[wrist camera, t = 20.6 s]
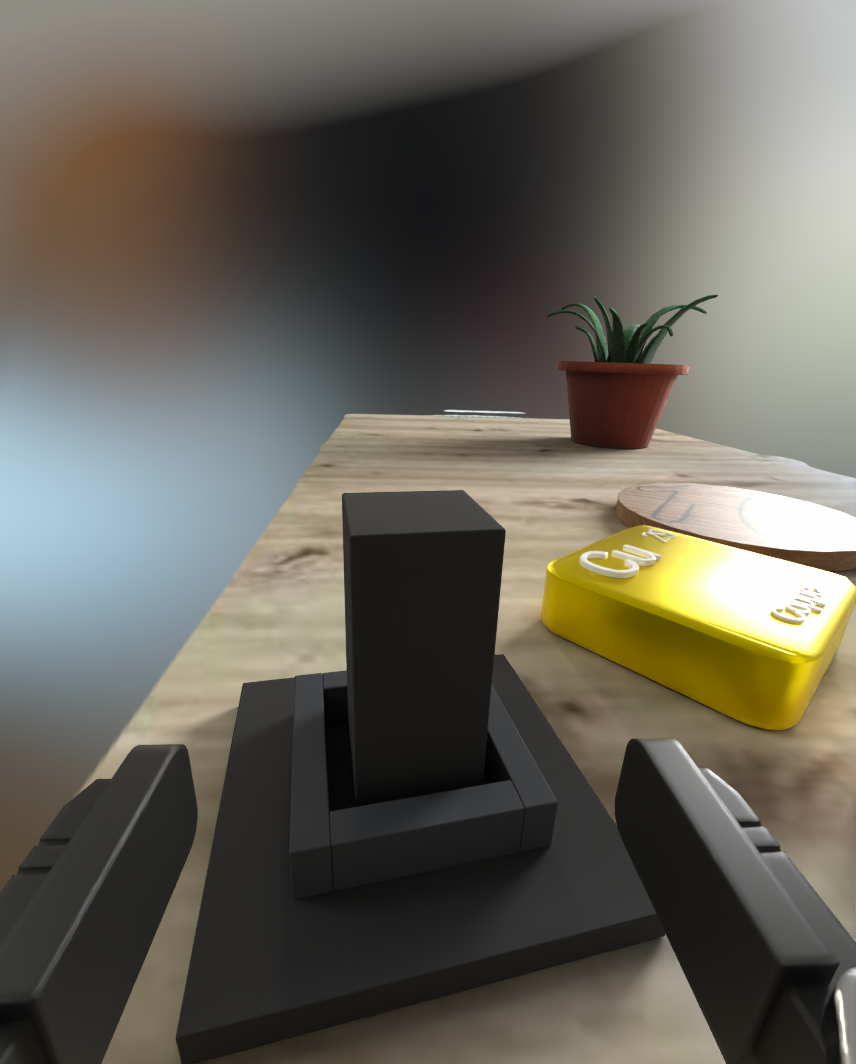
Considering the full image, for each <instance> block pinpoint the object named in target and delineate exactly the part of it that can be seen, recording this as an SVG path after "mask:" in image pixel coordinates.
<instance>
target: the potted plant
mask: <svg viewBox="0 0 856 1064" xmlns="http://www.w3.org/2000/svg"><path fill="white" fill-rule="evenodd" d="M717 296H718V295H710V296H706V297H703V298H700V299H698V300H695V301H694V302H692V303H690V304H689V305H671V306H668V307H665V308H663V309H661V310H660V311H658V312H656V313H655V314H653V315H652V316H651V317H650V318H649V319H648V320H647V322H646V323H645V324H643V325H641V326H640V325H632V326H629V327H628V328H627V329H626V330H624V331H623V327H622V324H621V321H620V318H619V316H618V314H617V313H616V311H615V310H614V309H612V308H609V310H610V312H611V314H612V317H613V332H612V328H611V324H610V321H609V317H608V315H607V312H606V310H605V308H604V307H603V305H602V304H601V302H600V301H599V300H598V299H597V298H596V297H594V299H595V301H596V303H597V304H598V306H599V308H600V310H601V312H602V315H603V317H604V321H605V325H606V330H607V340H608V350H607V344H606V339H605V336H604V333H603V330H602V327H601V324H600V321H599V320H598V318H597V317H596V315H595V314H594V312H593V311H592V310H590V309H589V308H588V307H586V306H585V305H582V304H580V303H571V304H568V305H566V306H564V307H563V308H561V310H559V311H555V312H552V313H550V314H548V315H547V316H548V317H549V316H552V315H555V314H559V313H572V314H574V315H577V316H579V317H580V318H582V319H583V320H585V321H586V322H587V323H588V324H589V326H590V327H591V328H592V330H593V331H594V332H595V336H596V343H597V348H596V345H595V343H594V341H593V338H592V336H591V335H590V333H589V332H588V331H587V330H585V329H584V328H582V327H578V326H576V327H575V328H577V329H579V330H581V331H583V332H585V333H586V334H587V336H588V338H589V340H590V343H591V346H592V350H593V355H594V359H595V362H577V361H576V362H575V361H558V370H566V380H567V392H568V402H569V403H568V404H569V415H570V427H571V439H572V441H574V442H576V443H580V444H584V445H589V446H596V447H605V448H618V449H639V448H645V447H648V445H649V443H650V440H651V438H652V435H653V433H654V431H655V428H656V426H657V423H658V421H659V419H660V416H661V413H662V412H663V409H664V407H665V404H666V402H667V399H668V397H669V394H670V392H671V390H672V388H673V385H674V383H675V380H676V378H677V376H678V375H688V370H689V365H664V364H663V365H662V364H650V363H651V361H652V359H653V357H654V355H655V352H656V350H657V348H658V346H659V345H660V343H661V342H662V340H663V339H664V337H665V335H666V333H667V332H669V334H670V336H673V333H672V329H671V328H670V327H671V326H672V325H673V324H674V323H675V322H676V321H677V320H678V319H679V318H680V317H681V316H682V315H683V314H684V313H685V312H686V311H687V310H689V309H694V310H698V311H700V312H702V313H705V314H706V311H704V310H703V309H701V308H699V307H696V306H695V305H697V304H698V303H701V302H703V301H706V300H708V299H711V298H715V297H717ZM570 306H580V307H582V308H583V309H584V310H585V311H586V312H587V313H588V315H589V317H590V318H591V320H592V322H593V325H592V324H591V322H590V321H589V320H588V319H587V318H586V317H584V316H583V315H581V314H580V313H578V312H574V311H572V310H564V309H565V308H567V307H570ZM677 308H681V309H680V311H678V312H677V313H676V314H675V315H674V316H673V317H672V318H671V319H669V320H668V321H667V322H666V323H665V324H664V325H662V326H658V327H656V328H654V329H652V327H653V326H654V324H655V323H656V321H657V320H658V319H659V317H660V316H661V315H663V314H665V313H667V312H668V311H671V310H674V309H677ZM636 328H638V329H637V330H636ZM660 328H662V329H661V330H660V331H659V333H658V334H657V335H656V336H655V337H654V338H653V339H652V340H651V341H650V343H649V344H648V345H647V346H646V347H645V349H644V351H643V352H642V350H643V348H644V345H645V343H646V341H647V339H648V337H649V336H650V335H651V334H652V333H653V332H654V331H656V330H658V329H660ZM635 330H636V332H635V333H634V331H635ZM633 334H634V335H633ZM641 353H642V354H641Z"/></svg>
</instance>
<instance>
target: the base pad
mask: <svg viewBox="0 0 856 1064" xmlns="http://www.w3.org/2000/svg"><path fill="white" fill-rule="evenodd" d="M662 936H665V931H664V929H663V927H662V924H661V922H660V920H659V918H658V916H657V914H656V912H655V909H654V907H653V905H652V903H651V901H650V899H649V897H648V894H647V892H646V890H645V888H644V886H643V884H642V882H641V879H640V877H639V875H638V873H637V871H636V869H635V867H634V864H633V862H632V860H631V858H630V856H629V854H628V852H627V849H626V847H625V845H624V843H623V841H622V838H621V836H620V833H619V830H618V827H617V826H616V824H615V823H614V821H613V820H612V818H611V817H610V815H609V814H608V812H607V811H606V809H605V808H604V806H603V805H602V803H601V802H600V800H599V799H598V797H597V796H596V794H595V792H594V791H593V789H592V788H591V786H590V785H589V783H588V782H587V780H586V779H585V777H584V776H583V774H582V773H581V771H580V770H579V768H578V767H577V765H576V764H575V762H574V761H573V759H572V758H571V756H570V755H569V753H568V751H567V750H566V748H565V747H564V745H563V744H562V742H561V741H560V739H559V738H558V736H557V735H556V733H555V732H554V730H553V729H552V727H551V726H550V724H549V723H548V721H547V720H546V718H545V717H544V715H543V714H542V712H541V710H540V709H539V707H538V706H537V704H536V703H535V701H534V700H533V698H532V697H531V695H530V694H529V692H528V691H527V689H526V688H525V686H524V685H523V683H522V682H521V680H520V679H519V677H518V676H517V674H516V673H515V671H514V669H513V668H512V666H511V665H510V663H509V662H508V660H507V659H506V657H505V656H504V655H503V654H502V655H494V665H493V676H492V687H491V698H490V709H489V720H488V731H487V742H486V753H485V764H484V775H483V785H480V786H474V787H468V788H463V789H457V790H451V791H445V792H440V793H434V794H428V795H422V796H417V797H411V798H405V799H399V800H394V801H388V802H382V803H376V804H370V805H365V806H359V807H355V806H354V794H353V782H352V770H351V758H350V746H349V731H348V695H347V671H339V672H330V673H323V674H322V673H318V674H309V675H300V676H295V677H294V678H285V679H276V680H267V681H258V682H249V683H243V686H242V691H241V696H240V702H239V707H238V712H237V717H236V723H235V728H234V733H233V739H232V744H231V749H230V754H229V760H228V765H227V770H226V775H225V781H224V786H223V791H222V797H221V802H220V807H219V812H218V818H217V823H216V828H215V834H214V839H213V844H212V849H211V855H210V860H209V865H208V870H207V876H206V881H205V886H204V892H203V897H202V902H201V907H200V913H199V918H198V923H197V928H196V934H195V939H194V944H193V950H192V955H191V960H190V965H189V971H188V976H187V981H186V987H185V992H184V997H183V1002H182V1008H181V1013H180V1018H179V1023H178V1029H177V1034H176V1042H177V1046H178V1050H179V1054H180V1058H181V1063H182V1064H194V1063H198V1062H201V1061H205V1060H209V1059H212V1058H216V1057H220V1056H223V1055H227V1054H231V1053H235V1052H238V1051H242V1050H246V1049H249V1048H253V1047H257V1046H260V1045H264V1044H268V1043H271V1042H275V1041H279V1040H282V1039H286V1038H290V1037H294V1036H297V1035H301V1034H305V1033H308V1032H312V1031H316V1030H319V1029H323V1028H327V1027H330V1026H334V1025H338V1024H341V1023H345V1022H349V1021H352V1020H356V1019H360V1018H364V1017H367V1016H371V1015H375V1014H378V1013H382V1012H386V1011H389V1010H393V1009H397V1008H400V1007H404V1006H408V1005H411V1004H415V1003H419V1002H422V1001H426V1000H430V999H434V998H437V997H441V996H445V995H448V994H452V993H456V992H459V991H463V990H467V989H470V988H474V987H478V986H481V985H485V984H489V983H492V982H496V981H500V980H504V979H507V978H511V977H515V976H518V975H522V974H526V973H529V972H533V971H537V970H540V969H544V968H548V967H551V966H555V965H559V964H562V963H566V962H570V961H574V960H577V959H581V958H585V957H588V956H592V955H596V954H599V953H603V952H607V951H610V950H614V949H618V948H621V947H625V946H629V945H632V944H636V943H640V942H644V941H647V940H651V939H655V938H658V937H662Z"/></svg>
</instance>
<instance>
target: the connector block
mask: <svg viewBox="0 0 856 1064" xmlns="http://www.w3.org/2000/svg"><path fill="white" fill-rule="evenodd" d="M342 515H343V551H344V587H345V623H346V659H347V695H348V731H349V746H350V758H351V770H352V782H353V794H354V806H355V807H359V806H365V805H370V804H376V803H382V802H388V801H394V800H399V799H405V798H411V797H417V796H422V795H428V794H434V793H440V792H445V791H451V790H457V789H463V788H468V787H474V786H480V785H483V775H484V764H485V753H486V742H487V731H488V720H489V709H490V698H491V687H492V676H493V665H494V654H495V642H496V631H497V620H498V609H499V598H500V587H501V576H502V565H503V554H504V543H505V532H506V531H505V529H504V528H503V527H502V526H501V525H500V524H499V523H498V522H497V521H496V520H494V519H493V518H492V517H491V516H490V515H489V514H488V513H487V512H486V511H485V510H484V509H483V508H482V507H481V506H479V505H478V504H477V503H476V502H475V501H474V500H473V499H472V498H471V497H470V496H469V495H468V494H467V493H466V492H464V491H463V490H455V491H413V492H371V493H343V494H342Z"/></svg>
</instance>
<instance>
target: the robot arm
mask: <svg viewBox="0 0 856 1064" xmlns="http://www.w3.org/2000/svg"><path fill="white" fill-rule="evenodd" d="M615 816H616V822H617V827H618V830H619V833H620V836H621V838H622V841H623V843H624V845H625V847H626V849H627V852H628V854H629V856H630V858H631V860H632V862H633V864H634V867H635V869H636V871H637V873H638V875H639V877H640V879H641V882H642V884H643V886H644V888H645V890H646V892H647V894H648V897H649V899H650V901H651V903H652V905H653V907H654V909H655V912H656V914H657V916H658V918H659V920H660V922H661V924H662V927H663V929H664V931H665V933H666V935H667V937H668V939H669V942H670V944H671V946H672V948H673V950H674V952H675V955H676V957H677V959H678V961H679V963H680V965H681V967H682V970H683V972H684V974H685V976H686V978H687V980H688V982H689V985H690V987H691V989H692V991H693V993H694V995H695V997H696V1000H697V1002H698V1004H699V1006H700V1008H701V1010H702V1012H703V1015H704V1017H705V1019H706V1021H707V1023H708V1025H709V1027H710V1030H711V1032H712V1034H713V1036H714V1038H715V1040H716V1042H717V1045H718V1047H719V1049H720V1051H721V1053H722V1055H723V1058H724V1060H725V1062H726V1064H856V942H855V941H854V940H853V939H852V937H851V936H850V935H849V933H848V932H847V931H846V930H845V928H844V927H843V926H842V925H841V923H840V922H839V921H838V919H837V918H836V917H835V916H834V914H833V913H832V912H831V910H830V909H829V908H828V907H827V905H826V904H825V903H824V902H823V900H822V899H821V898H820V896H819V895H818V894H817V893H816V891H815V890H814V889H813V887H812V886H811V885H810V884H809V882H808V881H807V880H806V879H805V877H804V876H803V875H802V873H801V872H800V871H799V870H798V868H797V867H796V866H795V864H794V863H793V862H792V861H791V859H790V858H789V857H788V856H787V854H786V853H785V852H781V850H780V845H779V844H778V843H777V841H776V840H775V839H774V838H773V836H772V835H771V834H770V833H769V831H768V830H767V829H766V827H762V826H761V823H760V820H759V818H758V817H757V816H756V815H755V813H754V812H753V811H752V810H751V808H750V807H749V806H748V804H747V803H746V802H745V801H744V799H743V798H742V797H741V795H740V794H739V793H738V792H737V791H736V790H735V789H733V788H732V787H731V786H730V785H728V784H727V783H726V782H725V781H723V780H722V779H721V778H720V777H718V776H717V775H716V774H715V773H713V772H712V771H711V770H710V769H708V768H705V769H698V767H697V766H696V764H695V763H694V762H693V760H692V759H691V758H690V756H689V755H688V754H687V752H686V751H685V749H684V748H683V747H682V745H681V744H680V743H679V742H678V741H677V740H675V739H673V738H647V739H631V740H630V741H629V742H628V744H627V747H626V752H625V756H624V761H623V765H622V770H621V775H620V779H619V784H618V788H617V793H616V798H615ZM196 826H197V803H196V797H195V791H194V785H193V779H192V772H191V766H190V760H189V754H188V750H187V748H186V746H185V745H183V744H174V745H138V746H136V747H134V748H133V749H132V750H131V751H130V753H129V754H128V755H127V757H126V758H125V760H124V761H123V763H122V764H121V766H120V767H119V769H118V770H117V772H116V773H115V775H114V776H113V778H112V779H97V780H95V781H94V782H93V783H92V784H90V785H89V786H88V787H87V788H86V789H84V790H83V791H82V792H81V793H80V794H78V795H77V796H76V797H75V798H74V799H72V800H71V801H70V802H69V803H68V804H66V805H65V806H64V807H63V808H62V810H61V811H60V812H59V814H58V815H57V817H56V818H55V819H54V821H53V822H52V823H51V825H50V826H49V827H48V829H47V830H46V831H45V833H44V834H43V835H42V837H41V838H40V842H39V844H38V846H34V848H33V849H32V850H31V852H30V853H29V854H28V856H27V857H26V859H25V860H24V861H23V863H22V864H21V865H20V867H19V871H18V873H17V875H13V876H12V877H11V879H10V880H9V881H8V883H7V884H6V886H5V887H4V888H3V890H2V891H1V892H0V1064H101V1063H102V1061H103V1058H104V1056H105V1053H106V1051H107V1049H108V1046H109V1044H110V1041H111V1039H112V1037H113V1034H114V1032H115V1029H116V1027H117V1025H118V1022H119V1020H120V1017H121V1015H122V1013H123V1010H124V1008H125V1005H126V1003H127V1001H128V998H129V996H130V993H131V991H132V989H133V986H134V984H135V981H136V979H137V977H138V974H139V972H140V970H141V967H142V965H143V962H144V960H145V958H146V955H147V953H148V950H149V948H150V946H151V943H152V941H153V938H154V936H155V934H156V931H157V929H158V926H159V924H160V922H161V919H162V917H163V914H164V912H165V910H166V907H167V905H168V902H169V900H170V898H171V895H172V893H173V890H174V888H175V886H176V883H177V881H178V878H179V876H180V874H181V871H182V869H183V866H184V864H185V862H186V859H187V857H188V855H189V852H190V849H191V847H192V844H193V840H194V836H195V832H196Z"/></svg>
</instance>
